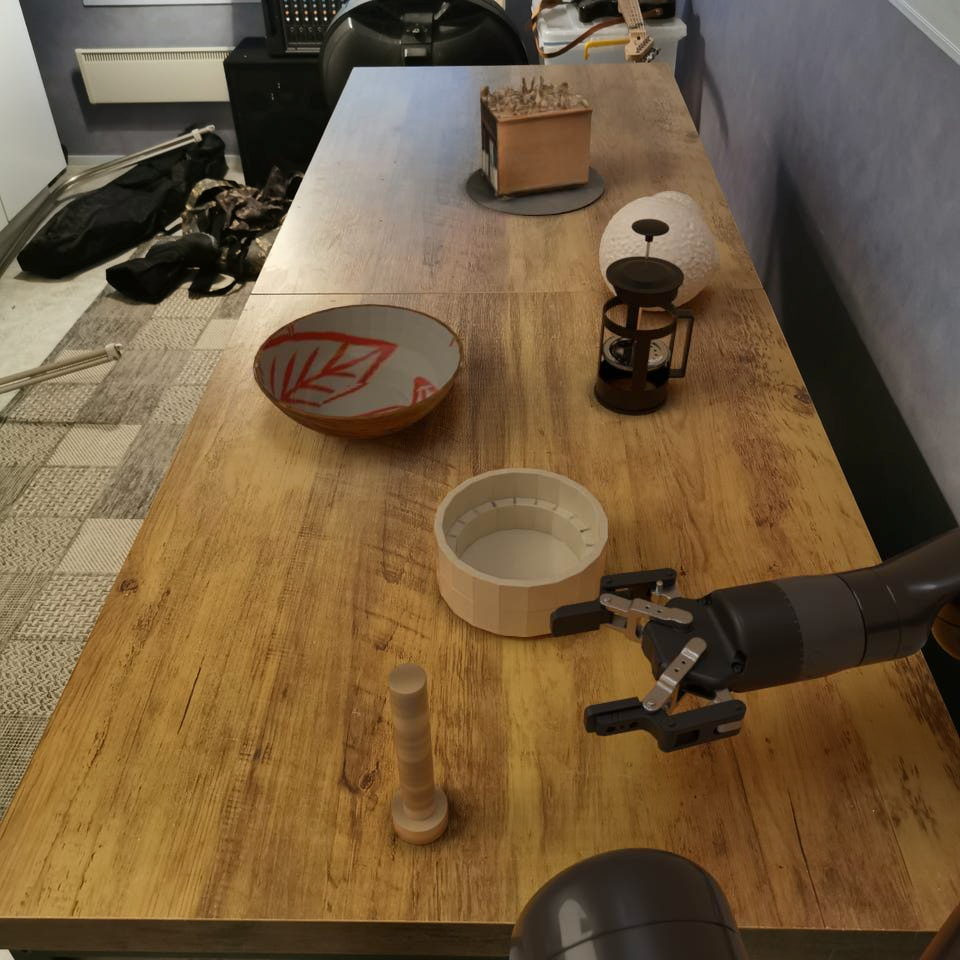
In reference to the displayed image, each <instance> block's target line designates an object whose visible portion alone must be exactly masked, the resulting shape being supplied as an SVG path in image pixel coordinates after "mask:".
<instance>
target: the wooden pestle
mask: <svg viewBox="0 0 960 960" xmlns="http://www.w3.org/2000/svg"><path fill="white" fill-rule="evenodd" d="M427 676H428V675H427V672H426V671H425V669H424V668H423V667H421V665H419V664H417V663H414V662H404V663H400V664H398V665H396V666H395V667H393V668H392V670H390V672H389V674H388V676H387V686H388V693H389V703H390V711H391V719H392V727H393V735H394V736H393V737H394V743H395V744H394V745H395V753H396V761H397V762H396V763H397V768H398V770H397V771H398V779H399V786H400V787H399V789H398V791H396V792H395V794H394V796H393V798H392V801H391V807H390V808H391V817H392V824H393V828H394V831H395V832H396V834H397V835H398V837H399V838H400V839H402V840H403V841H405V842H407V843H409V844H412V845H417V846H419V845H420V846H421V845H427V844H430V843H433V842H435V841H436V840H438V839H439V838H440V837H441V836H442V835H443V834H444V833H445V831H446V829H447V827H448V824H449V803H448V798H447V795H446V793H445V792H444V790H443V789H442V788H441V787H440V786H439V785H437V784H436V783H435V769H434V758H433V756H434V755H433V744H432V731H431V730H432V729H431V716H430V704H429V690H428V677H427Z"/></svg>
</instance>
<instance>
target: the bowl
mask: <svg viewBox="0 0 960 960" xmlns="http://www.w3.org/2000/svg"><path fill="white" fill-rule="evenodd" d="M464 360H465V351H464V345H463V343H462V341H461V339H460V337H459V335H458V334H457V333H456V332H455V331H454V330H453V329H452V328H451V326H449V325H448V324H446V323H445V322H443V321H442V320H440V319H439V318H437V317H434V316H432V315H430V314H428V313H425V312H423V311H420V310H417V309H414V308H413V309H412V308H409V307H405V306H398V305H390V304H380V303H379V304H377V303H363V304H347V305H342V306H336V307H330V308H326V309H322V310H318V311H314V312H311V313H309V314H306V315H303V316H301V317H298V318H296V319H294V320H292V321H290V322H288V323H286V324H285V325H283V326H281V327H280V328H278V329H277V330H276V331H274V332H273V333H272V334H270V335H269V336H268V337H267V338H266V339H265V340H264V341H263V343H261V344H260V345H259V348H258V349H257V352H256V353H255V356H254V358H253V364H252V373H253V377H254V381H255V383H256V384H257V386H258V388H259V389H260V391H261V392H262V393H263V394H264V396H265V397H266V398H267V399H268V400H269V401H270V402H271V403H272V404H273V405H274V406H275V407H276V408H277V409H278V410H280V411H281V412H282V413H283V414H284V415H285V416H286V417H288V418H289V419H291V420H292V421H294V422H295V423H298V424H299V425H301V426H303V427H305V428H307V429H309V430H311V431H314V432H316V433H319V434H322V435H325V436H328V437H332V438H333V437H334V438H338V439H349V440H351V439H353V440H359V439H372V438H373V439H374V438H379V437H383V436H388V435H391V434H393V433H397V432H400V431H402V430H404V429H407V428H408V427H410V426H412V425H414V424H415V423H417V422H418V421H419V420H421V419H423V418H424V417H425V416H427V415H428V414H430V413H431V412H432V410H434V409H435V408H436V407H437V406H438V405H439V403H440V402H441V401H442V400H444V398H445V397H446V396H447V394H448V393H449V391H450V390H451V388H452V387H453V385H454V383H455V382H456V380H457V379H458V377H459V374H460V373H461V371H462V369H463V364H464V362H465V361H464Z"/></svg>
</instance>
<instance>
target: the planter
mask: <svg viewBox="0 0 960 960" xmlns="http://www.w3.org/2000/svg"><path fill="white" fill-rule="evenodd" d="M543 76H544V75H541V74H540V75H539V81H540V82H539V84H536V85H535V83H536V76H535V75H534V76H533V77H532V80H531V81H530V88H529V89H528V87H527V82H526V79H525V77H522V79H521V80H522V85H521V84H520V85H519V88H518V90H515V89H514V88H513V86H512V85H508V86H507V89H506V88H505V87H504V86H503V85H502V84H501V85H500V87H499V89H498V92H497V90H495V91H494V92H492V93H491V90H490V86H489V85H488V84H487V85H484V86H482V87H481V88H480V91H479V95H480V97H479V103H480V108H479V109H480V131H481V132H480V136H481V152H480V153H481V156H480V157H481V167H480V168H479V169H477V170H476V171H474V172H473V173H472V174H471V175H470V176H469V177H468V179H467V181H466V183H465V190H466V193H467V194H468V196H469V197H470V198H471V199H472V200H473V201H475V202H476V203H477V204H479V205H481V206H483V207H484V208H488V209H490V210H492V211H497V212H500V213H506V214H514V215H525V216H526V215H527V216H541V215H553V214H560V213H566V212H571V211H574V210H578V209H581V208H583V207H586V206H587V205H589V204H591V203H592V202H594V201H596V200H597V199H599V197H600V196H601V195H602V193H603V192H604V189H605V180H604V178H603V176H602V175H601V174H600V173H599V171H597V170H596V169H595V168H593V167H592V166H590V159H591V158H590V157H591V135H592V134H591V133H592V132H591V131H592V117H593V111H594V108H593V107H592V106H591V105H590V103H588V100H587V99H586V98H585V97H584V96H583V95H582V94H581V92H579V91H577V89H576V87H574V86H573V85H572V84H569V83H568V82H567V81H563V82H561V83H560V84H554V85H553V83H549V85H548V84H547V83H545V78H544V77H543ZM544 83H545V84H544ZM534 85H535V86H534Z"/></svg>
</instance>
